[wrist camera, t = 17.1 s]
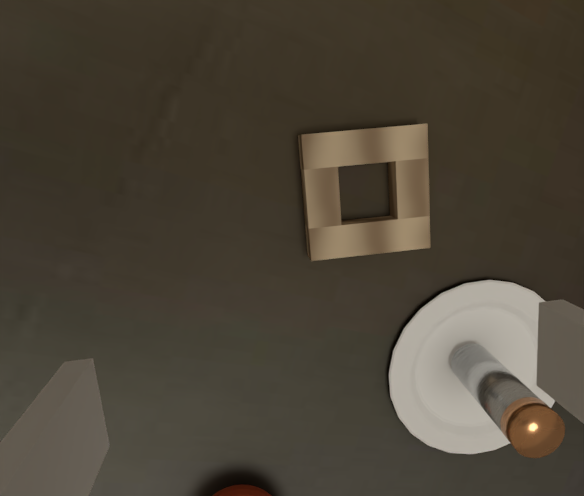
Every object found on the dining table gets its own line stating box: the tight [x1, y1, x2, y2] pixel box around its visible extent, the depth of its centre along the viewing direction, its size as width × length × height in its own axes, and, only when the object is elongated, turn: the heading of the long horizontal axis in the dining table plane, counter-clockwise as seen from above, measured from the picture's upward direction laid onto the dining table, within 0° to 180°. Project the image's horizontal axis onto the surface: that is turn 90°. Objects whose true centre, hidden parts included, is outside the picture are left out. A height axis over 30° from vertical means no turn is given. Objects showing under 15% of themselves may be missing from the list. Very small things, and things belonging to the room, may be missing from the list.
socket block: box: [298, 124, 430, 261], centre depth 47 cm, size 12×12×2 cm
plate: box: [388, 279, 555, 454], centre depth 54 cm, size 21×21×2 cm
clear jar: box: [451, 344, 565, 458], centre depth 46 cm, size 4×4×13 cm
